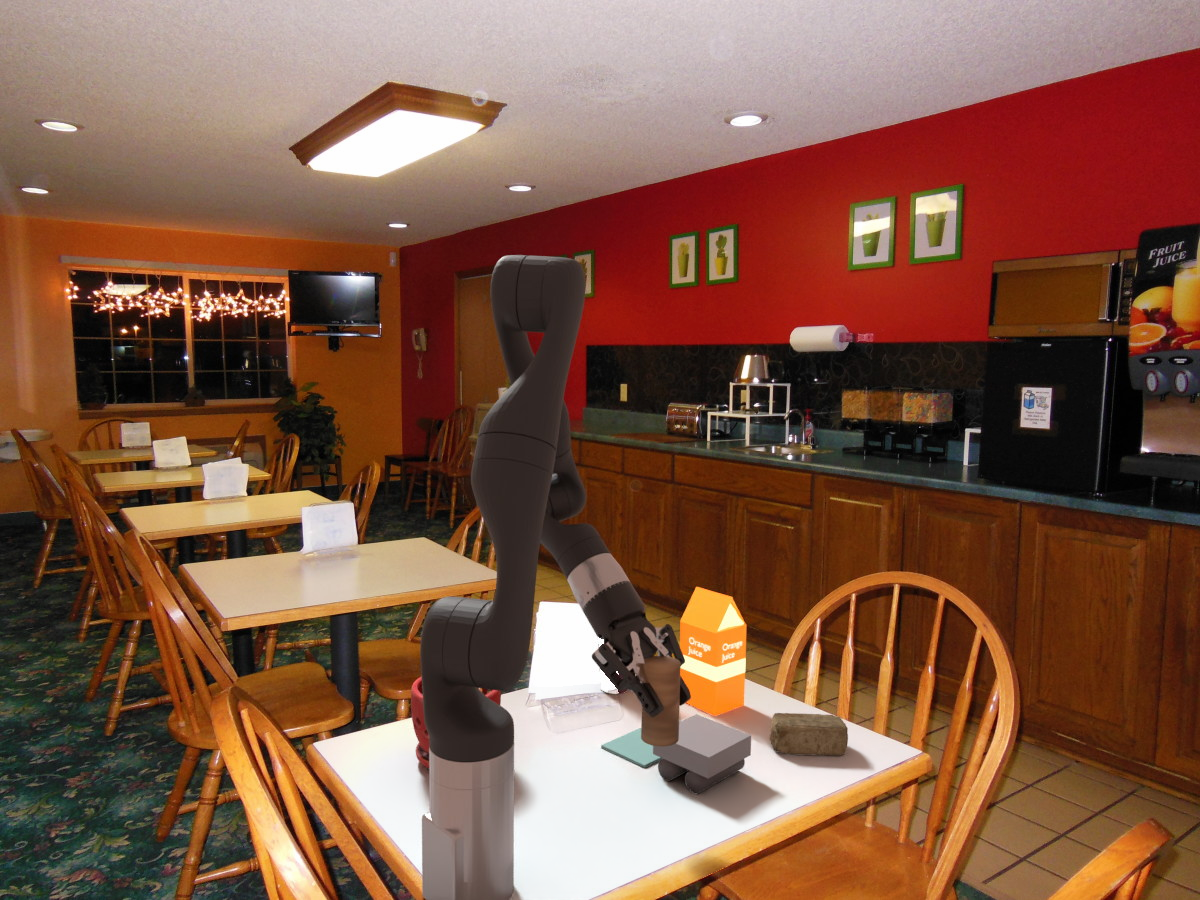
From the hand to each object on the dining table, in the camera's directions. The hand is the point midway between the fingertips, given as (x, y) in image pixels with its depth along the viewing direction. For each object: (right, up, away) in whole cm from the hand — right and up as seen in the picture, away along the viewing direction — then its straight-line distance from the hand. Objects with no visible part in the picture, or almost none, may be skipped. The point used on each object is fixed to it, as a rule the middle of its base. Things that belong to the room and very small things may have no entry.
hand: (671, 707), depth 104 cm
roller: (-1, -4, +2) cm, 5 cm away
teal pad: (-3, -14, +24) cm, 27 cm away
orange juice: (+11, -12, +42) cm, 45 cm away
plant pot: (-30, -14, +19) cm, 39 cm away
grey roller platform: (+6, -15, +15) cm, 22 cm away
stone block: (+23, -14, +24) cm, 37 cm away
